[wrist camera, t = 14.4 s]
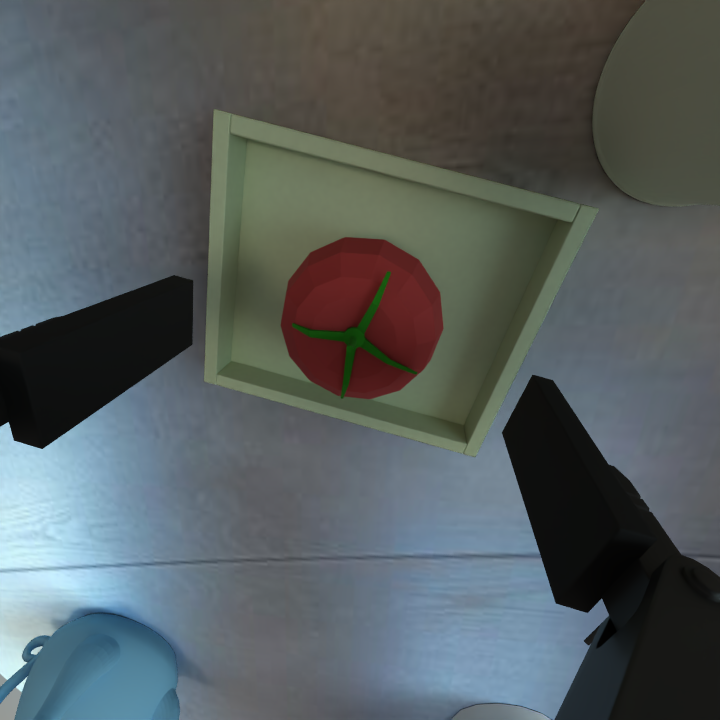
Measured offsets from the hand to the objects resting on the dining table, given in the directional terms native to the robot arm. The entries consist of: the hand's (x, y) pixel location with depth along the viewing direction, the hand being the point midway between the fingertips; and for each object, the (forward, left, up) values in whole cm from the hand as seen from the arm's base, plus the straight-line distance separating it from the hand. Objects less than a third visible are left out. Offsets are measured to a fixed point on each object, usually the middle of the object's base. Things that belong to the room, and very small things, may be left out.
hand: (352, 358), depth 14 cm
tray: (0, 0, -9) cm, 9 cm away
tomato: (0, 0, -8) cm, 8 cm away
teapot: (+18, +52, -9) cm, 56 cm away
